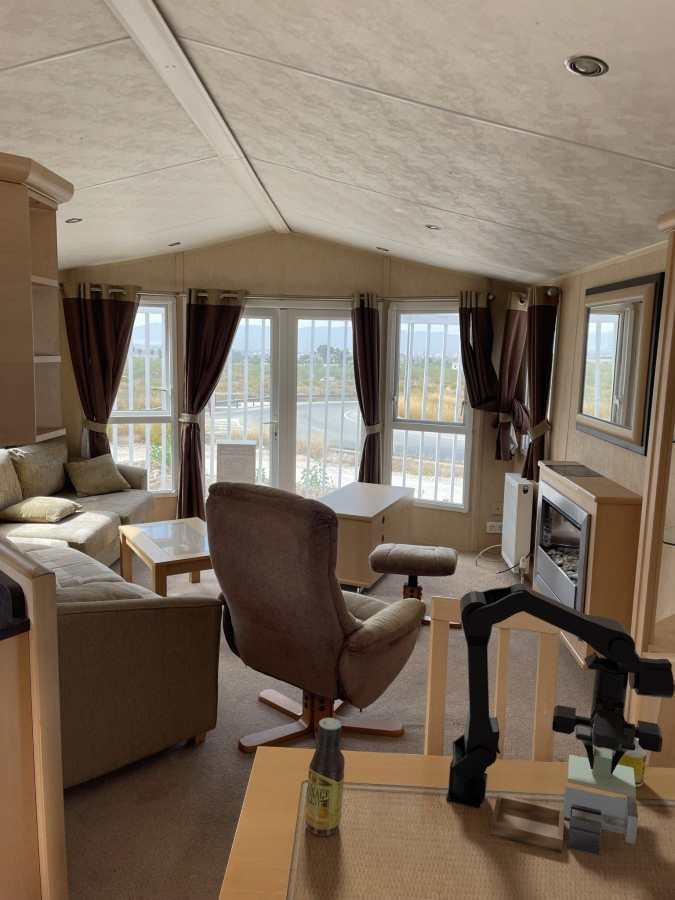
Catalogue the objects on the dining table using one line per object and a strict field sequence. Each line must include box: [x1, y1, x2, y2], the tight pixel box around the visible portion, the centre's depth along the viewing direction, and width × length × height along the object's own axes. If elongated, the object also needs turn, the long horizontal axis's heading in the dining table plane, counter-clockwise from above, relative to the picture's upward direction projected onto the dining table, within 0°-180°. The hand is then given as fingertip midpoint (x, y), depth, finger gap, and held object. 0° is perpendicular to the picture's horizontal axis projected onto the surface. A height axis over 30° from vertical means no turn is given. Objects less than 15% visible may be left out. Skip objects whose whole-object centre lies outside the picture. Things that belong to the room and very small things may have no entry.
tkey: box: [572, 795, 639, 845], centre depth 127 cm, size 10×6×5 cm, turn 71°
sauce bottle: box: [304, 717, 346, 837], centre depth 128 cm, size 6×6×20 cm
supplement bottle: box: [618, 739, 648, 788], centre depth 147 cm, size 5×5×10 cm
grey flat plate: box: [563, 786, 626, 821], centre depth 138 cm, size 12×10×1 cm
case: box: [490, 793, 565, 854], centre depth 132 cm, size 12×9×2 cm
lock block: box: [567, 804, 602, 856], centre depth 128 cm, size 5×5×5 cm
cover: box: [567, 746, 637, 798], centre depth 136 cm, size 12×9×5 cm
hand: (601, 770), depth 137 cm, fingers closed on cover, 3 cm apart
